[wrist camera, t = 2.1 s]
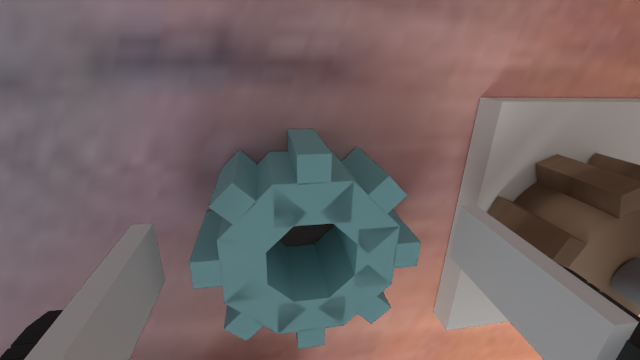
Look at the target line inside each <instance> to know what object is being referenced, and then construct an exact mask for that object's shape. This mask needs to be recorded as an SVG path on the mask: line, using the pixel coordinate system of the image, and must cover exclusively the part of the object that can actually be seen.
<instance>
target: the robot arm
mask: <svg viewBox="0 0 640 360" xmlns="http://www.w3.org/2000/svg"><path fill="white" fill-rule="evenodd" d="M449 256H450V257H451V258H452V259H453V260H454V261H455V263H456V264H457V265H458V266H459V267H460V268H461V269H462V270H463V271H464V272H465V273H466V275H467V276H468V277H469V278H470V279H471V280H472V281H473V282H474V283H475V284H476V286H477V287H478V288H479V289H480V290H481V291H482V292H483V293H484V294H485V295H486V297H487V298H488V299H489V300H490V301H491V302H492V303H493V304H494V305H495V306H496V308H497V309H498V310H499V311H500V312H501V313H502V314H503V315H504V316H505V317H506V319H507V320H508V321H509V322H510V323H511V324H512V325H513V326H514V327H515V328H516V329H517V331H518V332H519V333H520V334H521V335H522V336H523V337H524V338H525V339H526V340H527V342H528V343H529V344H530V345H531V346H532V347H533V348H534V349H535V350H536V351H537V353H538V354H539V355H540V356H541V357H542V358H543V359H544V360H640V317H638V316H637V315H635V314H634V313H632V312H631V311H630V310H628V309H627V308H625V307H624V306H623V305H621V304H620V303H618V302H617V301H615V300H614V299H613V298H611V297H610V296H608V295H607V294H605V293H604V292H601V291H600V289H598V288H597V287H596V286H594V285H593V284H591V283H588V281H587V280H586V279H584V278H583V277H581V276H580V275H578V274H577V273H576V272H574V271H573V270H571V269H569V268H567V267H565V266H563V265H561V264H559V263H556V262H555V261H553V260H552V259H550V258H549V257H548V256H546V255H545V254H543V253H542V252H541V251H539V250H538V249H536V248H535V247H534V246H532V245H531V244H529V243H528V242H527V241H525V240H524V239H522V238H521V237H520V236H518V235H517V234H515V233H514V232H513V231H511V230H510V229H508V228H507V227H506V226H504V225H503V224H502V223H500V222H499V221H497V220H496V219H495V218H493V217H492V216H490V215H489V214H488V213H486V212H485V211H483V210H482V209H481V208H479V207H478V206H476V205H471V206H461V208H460V212H459V217H458V221H457V225H456V229H455V234H454V238H453V242H452V247H451V251H450V255H449ZM164 281H165V277H164V273H163V268H162V264H161V259H160V254H159V250H158V245H157V240H156V236H155V231H154V226H153V224H137V225H131V226H130V227H129V228H128V230H127V231H126V232H125V233H124V235H123V236H122V237H121V239H120V240H119V241H118V242H117V244H116V245H115V246H114V247H113V249H112V250H111V251H110V252H109V254H108V255H107V256H106V257H105V259H104V260H103V261H102V262H101V264H100V265H99V266H98V267H97V269H96V270H95V271H94V272H93V274H92V275H91V276H90V277H89V279H88V280H87V281H86V282H85V284H84V285H83V286H82V288H81V289H80V290H79V291H78V293H77V294H76V295H75V296H74V298H73V299H72V300H71V301H70V303H69V304H68V305H67V306H66V308H65V309H64V310H56V311H48V312H47V313H45V314H44V315H43V316H41V317H40V318H39V319H37V320H36V321H35V322H33V323H32V324H31V325H29V326H28V327H27V328H26V329H25V330H24V331H23V332H22V333H21V335H20V336H19V337H18V338H17V339H16V340H15V341H14V343H13V344H12V345H11V348H10V349H7V350H6V352H5V353H4V354H3V355H2V356H1V357H0V360H129V359H130V357H131V355H132V352H133V350H134V348H135V346H136V344H137V341H138V339H139V337H140V335H141V332H142V330H143V328H144V326H145V324H146V321H147V319H148V317H149V315H150V312H151V310H152V308H153V306H154V304H155V301H156V299H157V297H158V295H159V293H160V290H161V288H162V286H163V284H164Z"/></svg>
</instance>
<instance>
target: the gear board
mask: <svg viewBox="0 0 640 360" xmlns="http://www.w3.org/2000/svg"><path fill="white" fill-rule="evenodd" d="M595 153H598V154H602V155H605V156H609V157H613V158H616V159H620V160H623V161H627V162H630V163H634V164H638V165H640V98H480V101H479V105H478V110H477V115H476V119H475V124H474V128H473V133H472V138H471V142H470V147H469V151H468V156H467V160H466V165H465V170H464V174H463V179H462V183H461V188H460V193H459V197H458V202H457V206H456V211H455V215H454V220H453V225H452V229H451V234H450V238H449V243H448V248H447V252H446V257H445V261H444V266H443V270H442V275H441V280H440V284H439V289H438V293H437V298H436V303H435V307H434V314H435V315H436V317H437V318H438V320H439V321H440V322H441V324H442V325H443V327H444V328H445V330H446V331H447V330H454V329H460V328H467V327H474V326H480V325H487V324H494V323H501V322H507V321H508V320H507V319H506V317H505V316H504V315H503V314H502V313H501V312H500V311H499V310H498V309H497V308H496V306H495V305H494V304H493V303H492V302H491V301H490V300H489V299H488V298H487V297H486V295H485V294H484V293H483V292H482V291H481V290H480V289H479V288H478V287H477V286H476V284H475V283H474V282H473V281H472V280H471V279H470V278H469V277H468V276H467V275H466V273H465V272H464V271H463V270H462V269H461V268H460V267H459V266H458V265H457V264H456V263H455V261H454V260H453V259H452V258H451V257H450V256H449V255H450V251H451V247H452V242H453V238H454V234H455V229H456V225H457V221H458V217H459V212H460V208H461V206H471V205H476V206H478V207H479V208H481V209H482V210H483V211H485V212H486V213H487V212H488V211H489V209H490V207H491V206H492V204H493V203H494V201H495V200H496V198H497V197H498V196H500V197H503V198H505V199H507V200H510V201H512V202H514V201H515V200H516V198H517V197H518V196H519V195H521V194H522V193H523V192H524V191H525V190H526V189H528V188H529V187H530V186H531V185H533V184H535V183H536V182H537V175H536V163H538V162H540V161H543V160H545V159H547V158H550V157H552V156H554V155H556V154H558V155H561V156H565V157H568V158H571V159H574V160H577V161H580V162H583V163H586V164H588V163H589V161H590V160H591V159H592V157H593V156H594V154H595ZM611 287H612V289H613V290H614V291H616V292H618V293H619V294H621V295H622V296H624V297H625V298H627V299H628V300H630V301H631V302H633V303H634V304H636V305H637V306H639V307H640V258H639V259H634V260H631V261H629V262H627V263H626V264H624V265H623V266H622V267H621V268H620V269H619V270H618V271H617V272H616V273H615V275H614V276H613V278H612V281H611Z"/></svg>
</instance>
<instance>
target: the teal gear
mask: <svg viewBox="0 0 640 360" xmlns="http://www.w3.org/2000/svg"><path fill="white" fill-rule="evenodd" d="M287 134H288V151H280V152H269V153H268V154H267V155H266V156H265V157H264V158H263V159H262V160H261V161H260V162H259V163H258V164H256V163H255V162H254V161H252V160H251V159H250V158H249V157H248V156H247V155H245V154H244V153H243V152H242V151H241V150H239V151H238V152H237V153H236V154H235V155H234V156H233V157H232V158H231V159H230V160H229V161H228V162H227V163H226V164H225V165H224V166H223V167H222V169H221V172H220V175H219V178H218V181H217V184H216V187H215V190H214V192H213V195H212V198H211V201H210V204H209V208H210V209H212V210H213V211H207V212H206V215H205V218H204V221H203V224H202V227H201V230H200V232H199V235H198V238H197V241H196V244H195V247H194V250H193V253H192V255H191V258H190V261H189V266H190V272H191V278H192V284H193V289H198V288H208V287H218V286H222V287H223V295H224V303H225V304H227V310H226V317H225V325H224V329H225V330H227V331H229V332H231V333H232V334H234V335H236V336H238V337H240V338H242V339H244V340H245V341H247V340H248V339H249V338H251V337H252V336H253V335H254V334H255V333H256V332H257V331H258V330H259V329H260V328H262V327H263V326H265V327H267V328H268V329H270V330H272V331H273V332H275V333H277V334H284V333H291V332H296V338H297V345H298V349H300V348H307V347H314V346H321V345H324V336H325V328H328V327H335V326H343V325H344V324H346V323H347V322H348V321H349V320H350V319H351V318H353V317H354V316H355V315H356V314H359V315H360V316H361V317H363V318H364V319H366V320H367V321H368V322H370V323H371V324H372V323H373V322H374V321H376V320H377V319H378V318H379V317H380V316H381V315H383V314H384V313H385V312H386V311H387V310H389V309H390V308H391V306H390V304H389V303H388V301H387V299H386V297H385V295H384V293H383V291H384V290H385V289H386V288H388V287H389V286H390V285H391V284H392V277H393V270H394V268H400V267H409V266H417V261H418V255H419V250H420V244H421V242H420V241H419V239H418V238H417V237H416V236H415V235H414V234H413V233H412V231H411V230H410V229H409V228H408V227H407V226H406V225H405V223H404V222H403V221H402V220H401V219H400V218H399V217H398V215H397V214H396V213H395V212H394V211H393V210H392V209H393V208H394V207H395V206H396V205H398V204H399V203H400V202H401V201H402V200H403V199H404V198H405V197H406V196H408V195H407V194H406V193H405V192H404V191H403V190H402V189H401V188H400V187H399V186H398V185H397V183H396V182H395V181H394V180H393V179H392V178H391V177H390V176H389V175H388V174H387V173H386V172H385V171H383V170H382V169H381V168H380V167H379V166H378V165H377V164H376V163H375V162H374V161H372V160H371V159H370V158H369V157H368V156H367V155H366V154H365V153H364V152H363V151H361V150H360V149H359V148H358V147H356V148H355V149H354V150H353V151H352V152H351V153H350V154H349V155H348V156H347V157H346V158H345V159H344V160H343V161H341V160H340V159H339V158H338V157H337V156H336V155H335V154H334V153H333V152H332V151H331V150H329V149H328V148H327V146H326V145H325V144H324V142H323V141H322V140H321V138H320V137H319V136H318V134H317V133H316V132H315V130H314V129H287ZM332 223H333V224H334V226H333V227H332V228H331V229H330V230H329V231H328V232H327V233H325V234H324V235H323V236H322V237H321V238H320V239H319V240H318V241H317V242H316V243H315V244H310V245H299V246H285V245H284V244H282V243H281V242H280V241H279V240H280V239H281V238H282V237H283V236H284V235H285V234H286V233H287V232H288V231H289V230H290V229H291V228H292V227H293V226H304V225H318V224H332Z"/></svg>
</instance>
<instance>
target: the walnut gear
mask: <svg viewBox="0 0 640 360" xmlns="http://www.w3.org/2000/svg"><path fill="white" fill-rule="evenodd" d="M536 175H537V182H536V183H535V184H533V185H531V186H530V187H529V188H528V189H526V190H525V191H524V192H523V193H522V194H521V195H519V196H518V197H517V198H516V200H515V201H514V202H512V201H510V200H507V199H505V198H503V197H500V196H498V197H497V198H496V200H495V201H494V203H493V204H492V206H491V207H490V209H489V211H488V212H487V213H488V214H489V215H490V216H492V217H493V218H495V219H496V220H497V221H499V222H500V223H502V224H503V225H504V226H506V227H507V228H508V229H510V230H511V231H513V232H514V233H515V234H517V235H518V236H520V237H521V238H522V239H524V240H525V241H527V242H528V243H529V244H531V245H532V246H534V247H535V248H536V249H538V250H539V251H541V252H542V253H543V254H545V255H546V256H548V257H549V258H550V259H552V260H553V261H555V262H556V263H559V264H561V265H563V266H565V267H567V268H569V269H571V270H573V271H574V272H576V273H577V274H578V275H580V276H581V277H583V278H584V279H586V280H587V281H588V283H591V284H593V285H594V286H596V287H597V288H598V289H600V291H601V292H604V293H605V294H607V295H608V296H610V297H611V298H613V299H614V300H615V301H617V302H618V303H620V304H621V305H623V306H624V307H625V308H627V309H628V310H630V311H631V312H632V313H634V314H635V315H637V316H638V315H639V314H640V307H639V306H637V305H636V304H634V303H633V302H631V301H630V300H628V299H627V298H625V297H624V296H622V295H621V294H619V293H618V292H616V291H614V290H613V289H612V287H611V281H612V278H613V276H614V275H615V273H616V272H617V271H618V270H619V269H620V268H621V267H622V266H623V265H624V264H626V263H627V262H629V261H631V260H634V259H639V258H640V165H638V164H634V163H630V162H627V161H623V160H620V159H616V158H613V157H609V156H605V155H602V154H598V153H595V154H594V156H593V157H592V159H591V160H590V161H589V163H588V164H586V163H583V162H580V161H577V160H574V159H571V158H568V157H565V156H561V155H558V154H556V155H554V156H552V157H550V158H547V159H545V160H543V161H540V162H538V163H536Z"/></svg>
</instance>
